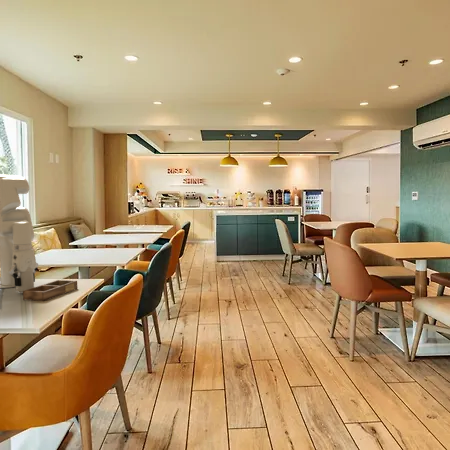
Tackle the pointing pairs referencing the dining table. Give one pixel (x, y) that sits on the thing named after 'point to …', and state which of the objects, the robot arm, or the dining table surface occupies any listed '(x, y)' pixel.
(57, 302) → the dining table surface
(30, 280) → the can
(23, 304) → the dining table surface
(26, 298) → the tray
